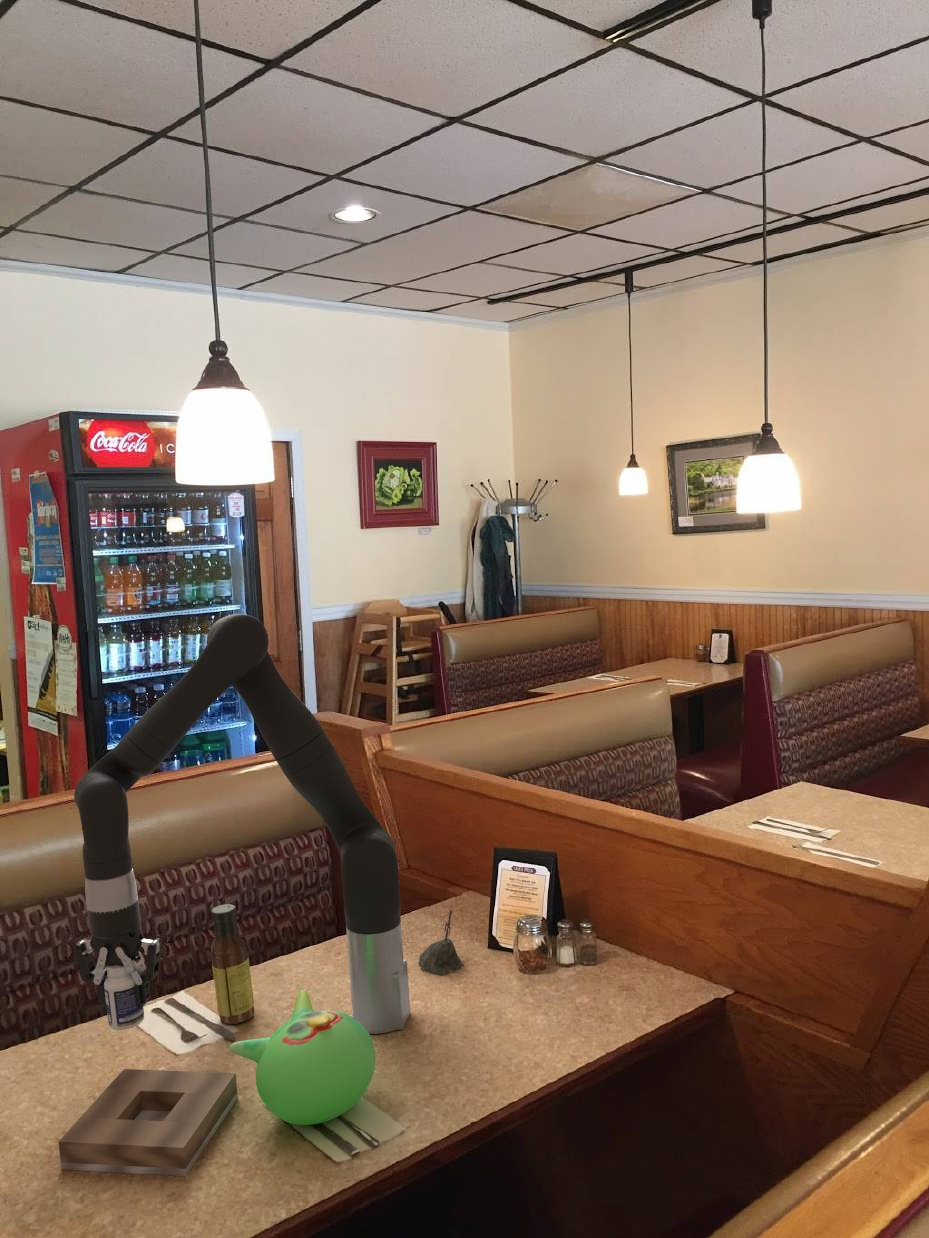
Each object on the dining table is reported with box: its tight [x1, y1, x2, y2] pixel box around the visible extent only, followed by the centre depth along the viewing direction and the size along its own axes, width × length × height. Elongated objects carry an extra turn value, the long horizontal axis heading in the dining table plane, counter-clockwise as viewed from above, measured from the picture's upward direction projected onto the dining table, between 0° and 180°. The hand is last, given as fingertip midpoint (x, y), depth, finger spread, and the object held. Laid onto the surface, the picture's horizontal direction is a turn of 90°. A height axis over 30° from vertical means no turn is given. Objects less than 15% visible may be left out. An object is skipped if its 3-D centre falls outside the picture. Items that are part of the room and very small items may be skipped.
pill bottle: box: [104, 960, 145, 1031], centre depth 160 cm, size 5×5×10 cm
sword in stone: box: [418, 909, 465, 977], centre depth 194 cm, size 10×8×12 cm
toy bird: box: [229, 989, 376, 1126], centre depth 148 cm, size 18×17×15 cm
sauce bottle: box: [210, 903, 255, 1025], centre depth 177 cm, size 7×6×20 cm
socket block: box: [58, 1068, 239, 1177], centre depth 145 cm, size 18×18×4 cm
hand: (124, 1003), depth 160 cm, fingers closed on pill bottle, 5 cm apart
